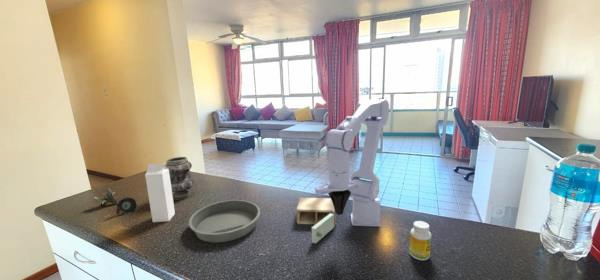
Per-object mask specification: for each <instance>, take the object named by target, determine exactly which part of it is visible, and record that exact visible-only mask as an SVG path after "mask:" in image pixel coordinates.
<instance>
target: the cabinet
mask: <svg viewBox="0 0 600 280" xmlns="http://www.w3.org/2000/svg"><path fill="white" fill-rule="evenodd" d="M297 204H298V205H297V207H296V223H297V225H316V224H317V223H318V222H319V221H321V220H322V219H323V218H325V217H326V216H327V215H329V214H330V213H331V214H332V211H335V209H334V205H333V202H332V200H331V198H328V197H299V201H298V203H297ZM335 226H337V214H336V213H335Z"/></svg>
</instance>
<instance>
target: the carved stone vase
mask: <svg viewBox="0 0 600 280" xmlns="http://www.w3.org/2000/svg"><path fill="white" fill-rule="evenodd" d="M165 167H166V168H167V169H169V175H170V182H171V189H172V196H173V201H174V200H176V201H177V200H183V199H187V198H190V197H191V196H192V195H193V194H194V191H193V190H191V188H192V187H193V186H194V185H195V179H193V178H192V177H191V172H190V171H191V168H192V163H191V162H190V161H188V157H186V156H177V157H171V158H169V159H167V160H166V164H165Z"/></svg>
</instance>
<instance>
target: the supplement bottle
mask: <svg viewBox="0 0 600 280" xmlns="http://www.w3.org/2000/svg"><path fill="white" fill-rule="evenodd" d="M409 233H410V234H409V246H408V247H409V254H410V256H411V257H412V258H414V259H416V260H419V261H427V260H429V259H430V257H431V247H432V244H431V243H432V233H431V232H430V225H429V223H427V222H426V221H423V220H416V221H413V226H412V228H411V230H410V232H409Z"/></svg>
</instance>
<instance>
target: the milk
mask: <svg viewBox="0 0 600 280" xmlns="http://www.w3.org/2000/svg"><path fill="white" fill-rule="evenodd" d="M165 165H166V164H165V163H164V162H163V163H148V164H147V169H146V173H145V174H144V177H145V182H146V189H147V195H148V201H149V208H150V214H151V219H152V223H161V222H170V221H171V219H172V218H173V217H174V215H175V214H176V212H175V205H174V204H175V203H174V199H173V196H172V194H173V192H172V189H171V182H170V175H169V169H167V168H166V167H165Z"/></svg>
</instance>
